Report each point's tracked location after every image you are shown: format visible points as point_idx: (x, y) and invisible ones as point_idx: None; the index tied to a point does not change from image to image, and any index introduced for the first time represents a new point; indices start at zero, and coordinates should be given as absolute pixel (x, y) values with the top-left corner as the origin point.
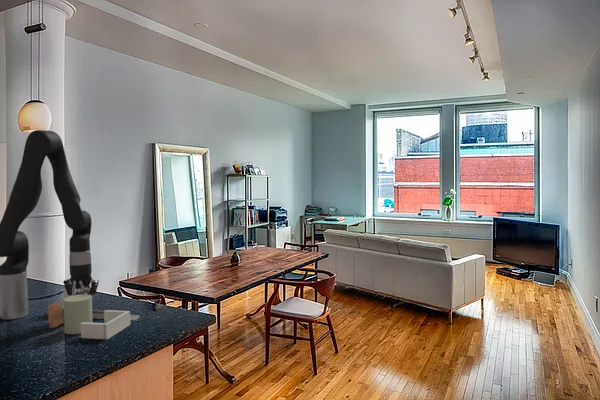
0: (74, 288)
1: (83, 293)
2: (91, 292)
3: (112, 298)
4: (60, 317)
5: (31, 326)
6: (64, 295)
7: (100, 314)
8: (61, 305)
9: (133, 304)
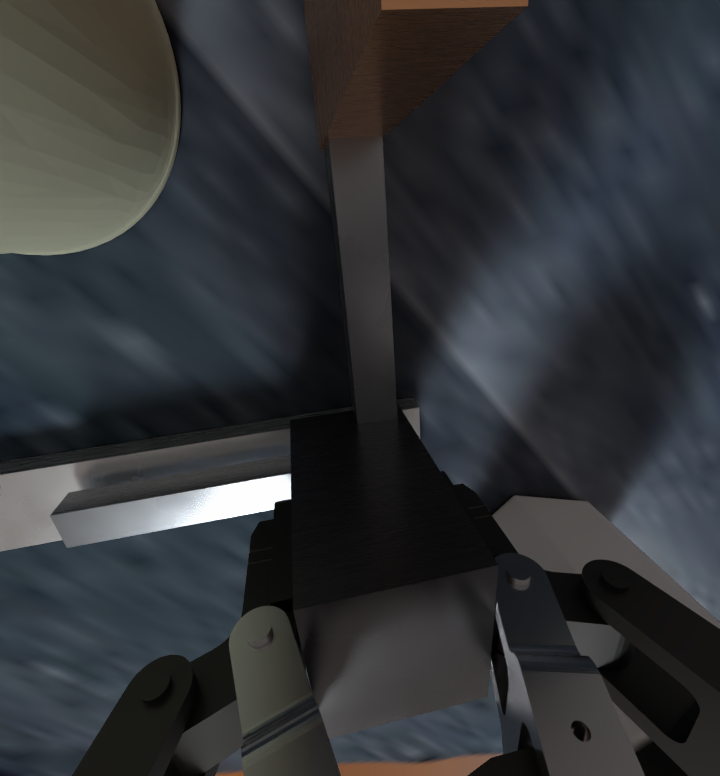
0: (561, 740)
1: (385, 680)
2: (106, 756)
3: (420, 735)
4: (323, 72)
5: (645, 65)
6: (693, 605)
7: (121, 483)
8: (359, 25)
9: None
